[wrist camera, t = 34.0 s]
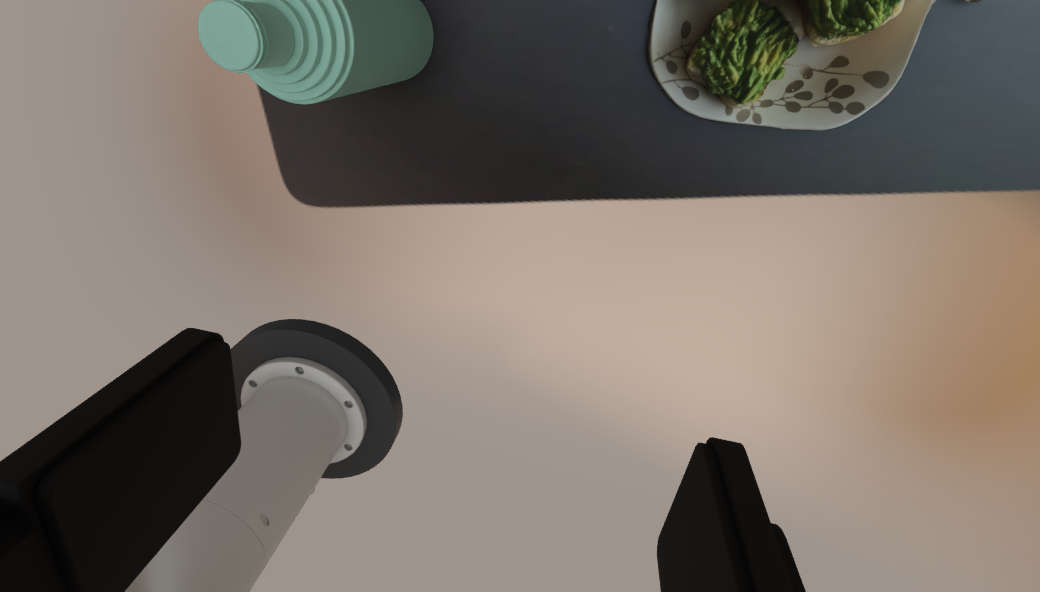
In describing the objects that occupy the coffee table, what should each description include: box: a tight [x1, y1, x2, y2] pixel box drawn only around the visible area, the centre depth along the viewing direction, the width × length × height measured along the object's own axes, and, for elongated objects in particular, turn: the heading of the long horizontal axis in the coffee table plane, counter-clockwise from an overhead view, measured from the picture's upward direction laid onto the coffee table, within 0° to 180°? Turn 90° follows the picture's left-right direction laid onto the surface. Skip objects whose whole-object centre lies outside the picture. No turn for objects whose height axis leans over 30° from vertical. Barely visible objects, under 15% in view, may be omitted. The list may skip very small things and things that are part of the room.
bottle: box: [198, 0, 434, 104], centre depth 30 cm, size 6×6×19 cm
